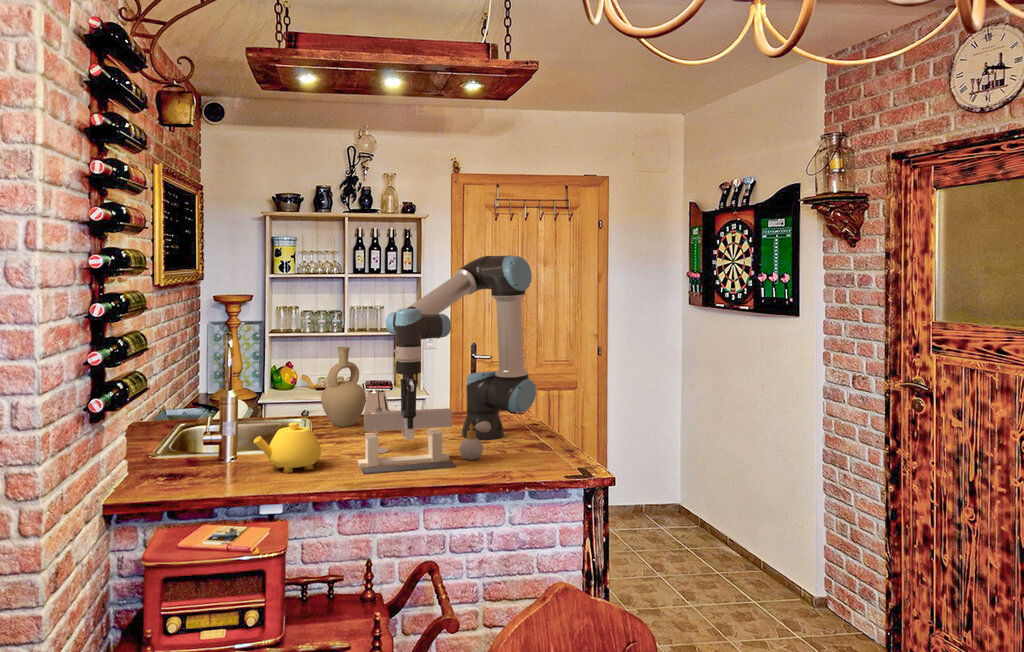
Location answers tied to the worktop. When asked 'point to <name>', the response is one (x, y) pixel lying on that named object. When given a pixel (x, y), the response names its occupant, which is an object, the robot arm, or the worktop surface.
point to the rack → (433, 456)
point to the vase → (343, 394)
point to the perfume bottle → (473, 441)
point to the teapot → (291, 448)
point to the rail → (397, 421)
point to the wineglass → (377, 407)
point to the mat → (407, 467)
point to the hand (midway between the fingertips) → (408, 437)
